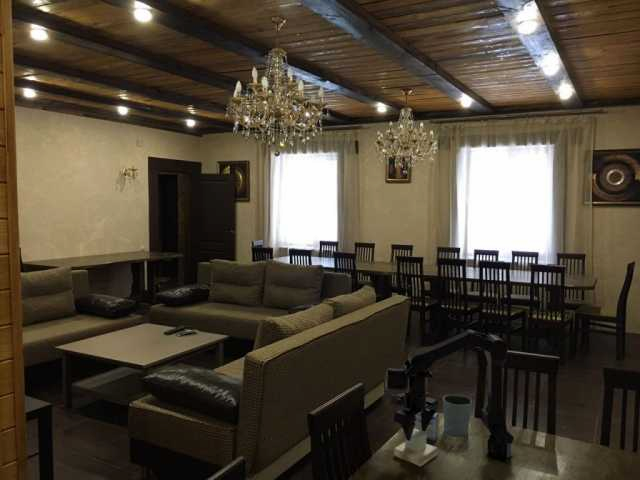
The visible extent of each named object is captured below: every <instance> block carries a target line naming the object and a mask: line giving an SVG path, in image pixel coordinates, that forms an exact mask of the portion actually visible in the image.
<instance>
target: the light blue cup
mask: <svg viewBox="0 0 640 480" xmlns="http://www.w3.org/2000/svg"><path fill="white" fill-rule="evenodd" d="M472 406H473V400H472V399H471V398H470V397H468V396H466V395H462V394H457V393H456V394H455V393H453V394H451V393H450V394H446V395H444V396H443V397H442V407H443V431H444V433H445V434H446V435H448V436H451V437H458V438H462V437H466V436H468V434H469V425H470V421H471V420H470V419H471V413H472Z"/></svg>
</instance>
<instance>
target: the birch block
mask: <svg viewBox="0 0 640 480" xmlns="http://www.w3.org/2000/svg"><path fill="white" fill-rule="evenodd" d="M393 450H394V457H396V458H399V459H401V460H404V461H406V462H409V463H411V464H414V465H415V466H418V467H422V466H424V465H425V464H426V463H428V462H429V461H430V460H432V459H433V458H435V457H436V456H438V447H436V446H434V445H431V444H428V443H426V448H424V449H423V450H421V451H420V452H415V451H413V450H410V449H408V448H405V441H404V442H402V443H400V444H399V445H397V446H396V447H394V449H393Z"/></svg>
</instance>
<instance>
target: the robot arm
mask: <svg viewBox="0 0 640 480" xmlns="http://www.w3.org/2000/svg"><path fill="white" fill-rule="evenodd" d="M470 346H475V347H477V348H479V349H481V350H483V351H484V355H485V357H486V361H487V362H486V363H487V405H486V407H485V408H481V418H480V421H482V424H483V425H484V427H485V428H486V430H487V431H488V432H489V434H490V435H489V436H488V439H487V444H486V445H487V450H486V451H487V452H486V453H485V454H486V456H487V457H490V458H493V459H495V460H498V461H501V462H503V463H505V462H507V461H508V460H509V459H510V458H511V457H513V455H514V454H513V453H512V443H513V442H514V439H515V436H513V435H512V434H511V432H510V430H509V429H508V428H507V427H508V426H507V421H506V417H505V414H504V413H505V412H504V409H503V365H504V363H505V362H506V359H507V356H508V355H507V354H508V349H509V348H508V345H507V343H506V342H505V341H504V340H503V339H502V338H500V337H499V336H498V335H495V334H489V335H487V334H485V333H481V332H478V331H474V330H472V329H466V330H465V331H463V332H461V333H458V334H457V335H455V336H453V337H450V338H448V339H446V340H443V341H442V342H439V343H437V344H435V345H432V346H426V347H425V346H423V347H419V348H415V349H412V350H411V351H410V352H409V354H408V356H407V359H406V360H405V361H404V362H403V364H402V366H401V368H391V367H386V372H385V375H384V385H385V390H386V391H404V390H406V389H407V387H408V390H407V391H405V392H403V393H401V392H400V393H397V394H392V395H391V397H390V404H391V405H392V406H394V407H403V409H402V408H401V409H399V410H396V411H395V412H394V413H393V414H392V420H393V422H395V423H397V424H400V425H401V428H402V430H403V434H404V438H405V437H406V440H408V441H410V439H411V436H412V433H413V430H414V427H415V424H416V423H414V422H415V420H416V416H415V415H417V414H419V413H420V414H421V427H422V431H424V432H425V431H426V429H427V427H428V425H429V423H430V422H431V420H432V418H433V416H434V415H435V413H438V412H437V411H439V410H440V402H439V401H438V400H437V399H434V398H432V397H429V395H430V393H429V392H427V384H428V382H427V381H428V380H427V379H429V378H430V379H432V378H434V375H433V373H432V372H431V371H430V370H429V369H430V368H431V367H432V366H434V365H435V364H436V362H438V361H439V360H441V359H443V358H445V357H447V356H450V355H452V354H454V353H456V352H459V351H461V350H463V349H465V348H468V347H470ZM405 409H408V410H405Z"/></svg>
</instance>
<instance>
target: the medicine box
mask: <svg viewBox="0 0 640 480" xmlns="http://www.w3.org/2000/svg"><path fill="white" fill-rule="evenodd" d="M439 415H440V414H439V412H436V413H435V415H434V416H433V418H432V420H431V422H430V423H429V425H428V427H427V429H426V431H425V432H426V433H427V439H426V440H429V441H435V440H436V439H437V438H438V436H439V421H440V420H439ZM415 416H416V420H415V422H414V423H416V424H415V427H414V428H415V429H418V430H421V431H422V427H421V414H420V413H419V414H417V415H415Z"/></svg>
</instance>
